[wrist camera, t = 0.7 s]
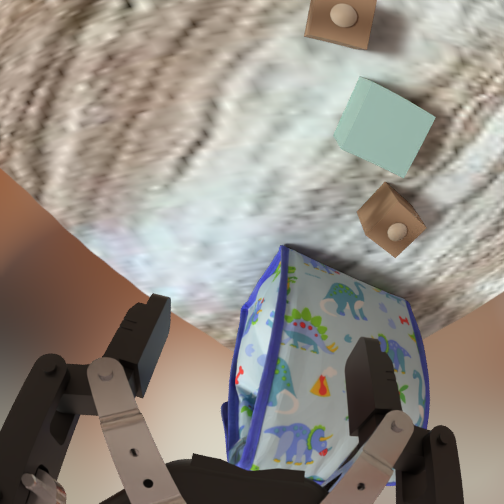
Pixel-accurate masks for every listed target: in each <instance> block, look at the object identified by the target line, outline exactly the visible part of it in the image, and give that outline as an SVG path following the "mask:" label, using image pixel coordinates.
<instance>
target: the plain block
mask: <svg viewBox="0 0 504 504" xmlns="http://www.w3.org/2000/svg"><path fill="white" fill-rule="evenodd" d="M435 118H436V117H435V116H433V115H431V114H430V113H428V112H427V111H425V110H423V109H422V108H420V107H418V106H416V105H415V104H413V103H411V102H410V101H408V100H406V99H404V98H403V97H401V96H399V95H397V94H395V93H393V92H392V91H390V90H388V89H386V88H384V87H382V86H380V85H378V84H376V83H374V82H372V81H370V80H367V79H365V78H363V77H359V79H358V81H357V84H356V86H355V88H354V90H353V93H352V95H351V97H350V99H349V102H348V104H347V106H346V108H345V111H344V113H343V115H342V117H341V119H340V122H339V124H338V126H337V128H336V130H335V133H334V137H335V139H336V141H337V143H338V144H339V146H340V148H341V149H342V150H344V151H347V152H349V153H351V154H353V155H356V156H358V157H360V158H362V159H364V160H367V161H369V162H371V163H373V164H375V165H377V166H380V167H382V168H384V169H386V170H388V171H390V172H392V173H394V174H396V175H398V176H400V177H402V178H404V177H405V175H406V173H407V171H408V169H409V168H410V166H411V164H412V162H413V160H414V158H415V157H416V155H417V153H418V151H419V149H420V147H421V145H422V143H423V141H424V139H425V137H426V135H427V134H428V132H429V130H430V128H431V126H432V124H433V122H434V120H435Z"/></svg>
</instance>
